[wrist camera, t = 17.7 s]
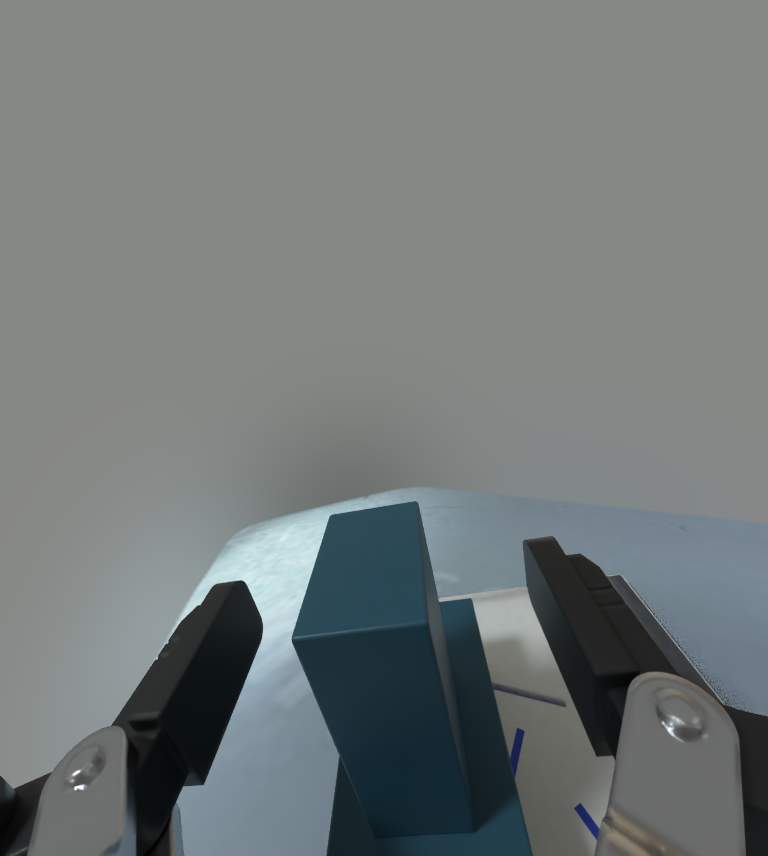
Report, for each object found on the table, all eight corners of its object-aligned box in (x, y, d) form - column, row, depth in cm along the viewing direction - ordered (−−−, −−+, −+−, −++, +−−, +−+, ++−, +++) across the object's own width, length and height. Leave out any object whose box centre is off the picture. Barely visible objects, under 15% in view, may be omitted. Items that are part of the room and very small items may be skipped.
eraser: (482, 662, 16) (446, 448, 13) (593, 1153, 7) (581, 886, 3) (377, 673, 17) (313, 472, 13) (349, 1142, 8) (105, 903, 4)
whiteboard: (621, 587, 20) (621, 573, 19) (2009, 2410, 3) (2210, 2558, 2) (374, 619, 21) (370, 606, 21) (278, 1915, 4) (250, 1958, 4)
